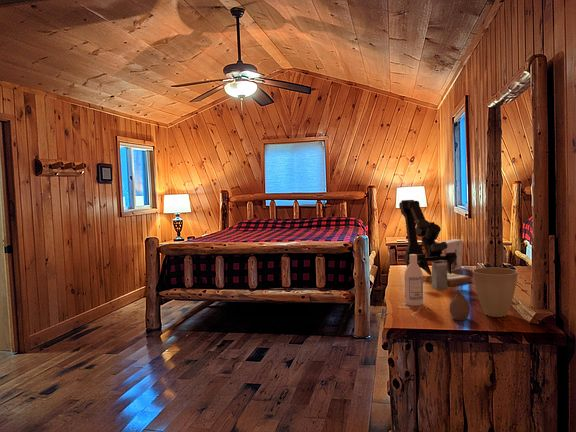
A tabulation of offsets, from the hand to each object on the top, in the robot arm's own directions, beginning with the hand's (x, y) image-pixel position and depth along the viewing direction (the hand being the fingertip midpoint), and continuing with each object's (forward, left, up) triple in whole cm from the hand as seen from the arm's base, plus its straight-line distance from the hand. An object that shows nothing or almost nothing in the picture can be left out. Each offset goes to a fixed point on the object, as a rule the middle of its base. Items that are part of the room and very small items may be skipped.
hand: (440, 274), depth 213 cm
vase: (+35, -29, -7) cm, 46 cm away
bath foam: (+11, -27, -7) cm, 30 cm away
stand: (-8, +15, -7) cm, 18 cm away
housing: (-1, +1, -7) cm, 7 cm away
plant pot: (+39, -15, -7) cm, 42 cm away
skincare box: (-26, +35, -7) cm, 45 cm away
